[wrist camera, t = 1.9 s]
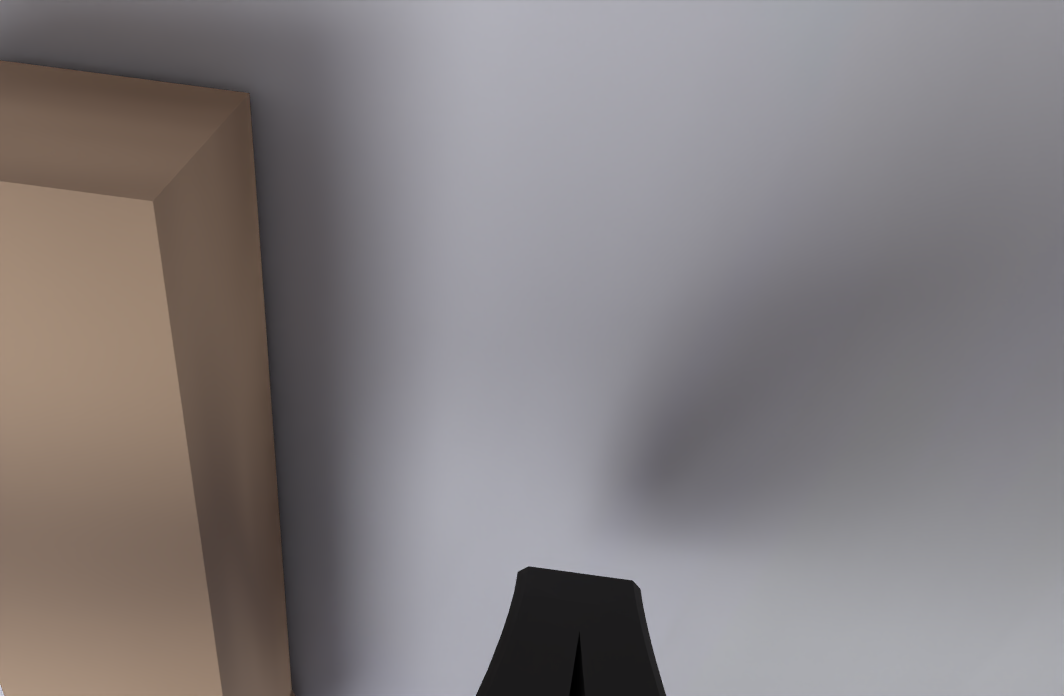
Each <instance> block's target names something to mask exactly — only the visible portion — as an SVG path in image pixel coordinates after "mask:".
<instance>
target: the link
mask: <svg viewBox="0 0 1064 696" xmlns="http://www.w3.org/2000/svg"><path fill="white" fill-rule="evenodd" d="M0 684H1V687H2V690H3V693H4V696H295V694H294V692H293V691H292V686H291V672H290V658H289V644H288V630H287V616H286V602H285V588H284V574H283V560H282V546H281V532H280V517H279V503H278V489H277V475H276V461H275V447H274V433H273V419H272V405H271V391H270V377H269V363H268V349H267V334H266V320H265V306H264V292H263V278H262V264H261V250H260V236H259V222H258V208H257V194H256V180H255V166H254V152H253V137H252V123H251V109H250V95H249V93H245V92H237V91H230V90H222V89H214V88H207V87H199V86H192V85H184V84H176V83H169V82H161V81H154V80H146V79H138V78H131V77H123V76H116V75H108V74H100V73H93V72H85V71H78V70H70V69H62V68H55V67H47V66H39V65H32V64H24V63H17V62H9V61H1V60H0Z"/></svg>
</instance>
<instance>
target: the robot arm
mask: <svg viewBox="0 0 1064 696" xmlns="http://www.w3.org/2000/svg"><path fill="white" fill-rule="evenodd" d="M476 696H666V694H665V691H664V687H663V684H662V680H661V677H660V673H659V670H658V666H657V663H656V659H655V656H654V652H653V648H652V644H651V640H650V636H649V632H648V627H647V623H646V618H645V613H644V608H643V603H642V597H641V590H640V588H639V587H638V586H637V585H636V584H635V583H634V581H632V580H624V579H617V578H610V577H602V576H595V575H588V574H580V573H573V572H566V571H558V570H551V569H544V568H536V567H527V568H525V569H523V570H521V571H519V572H518V574H517V580H516V586H515V591H514V595H513V599H512V602H511V606H510V609H509V613H508V616H507V619H506V622H505V625H504V628H503V631H502V634H501V637H500V640H499V642H498V645H497V647H496V650H495V652H494V655H493V657H492V660H491V663H490V665H489V668H488V670H487V672H486V675H485V677H484V679H483V681H482V683H481V686H480V688H479V690H478V692H477V694H476Z"/></svg>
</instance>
